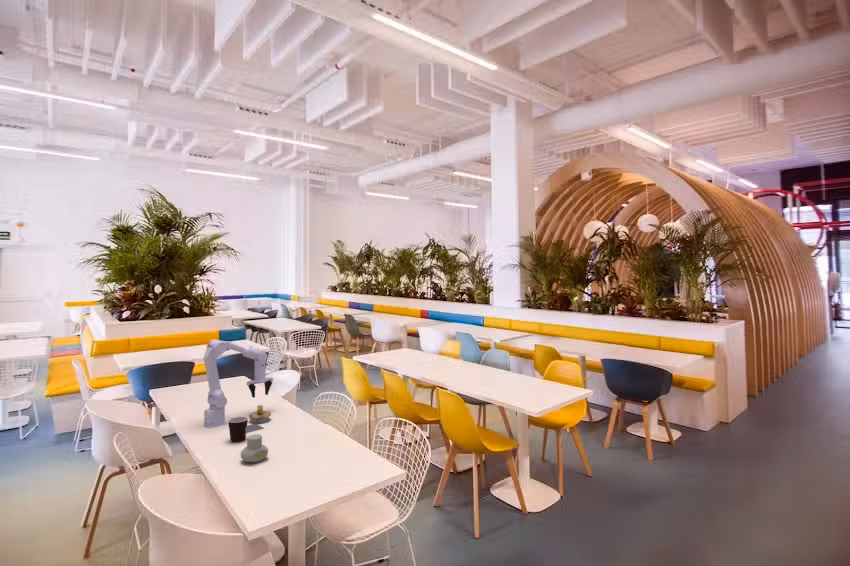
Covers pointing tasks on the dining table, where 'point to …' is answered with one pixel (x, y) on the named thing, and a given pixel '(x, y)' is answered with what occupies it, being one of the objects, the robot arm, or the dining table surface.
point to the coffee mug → (238, 428)
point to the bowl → (259, 420)
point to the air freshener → (254, 449)
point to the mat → (253, 428)
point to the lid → (259, 413)
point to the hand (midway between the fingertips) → (260, 395)
